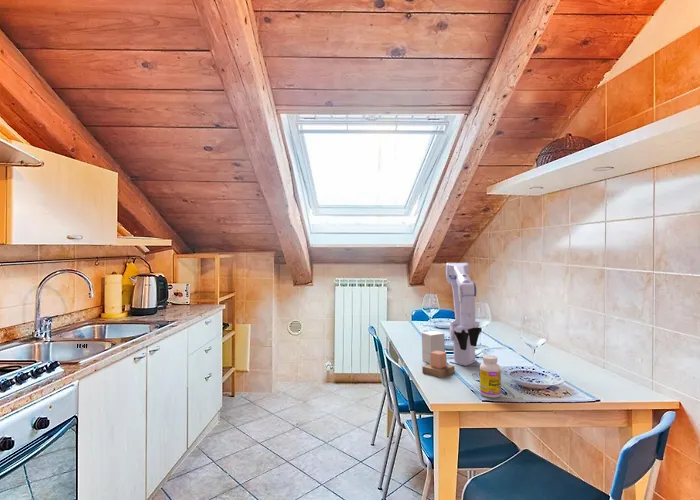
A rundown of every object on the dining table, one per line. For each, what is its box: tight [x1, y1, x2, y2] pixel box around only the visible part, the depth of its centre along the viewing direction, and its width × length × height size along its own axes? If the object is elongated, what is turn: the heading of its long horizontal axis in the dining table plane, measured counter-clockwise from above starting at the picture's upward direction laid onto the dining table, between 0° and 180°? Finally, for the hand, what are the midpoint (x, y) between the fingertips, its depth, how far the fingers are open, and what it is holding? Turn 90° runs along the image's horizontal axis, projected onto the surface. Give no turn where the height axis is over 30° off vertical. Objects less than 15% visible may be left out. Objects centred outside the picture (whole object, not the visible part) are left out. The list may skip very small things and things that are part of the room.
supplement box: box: [421, 330, 446, 364], centre depth 170 cm, size 7×7×13 cm
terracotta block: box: [430, 350, 448, 368], centre depth 155 cm, size 4×4×6 cm
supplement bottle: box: [479, 354, 502, 399], centre depth 131 cm, size 7×7×13 cm
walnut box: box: [422, 363, 455, 378], centre depth 155 cm, size 9×9×3 cm
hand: (468, 347), depth 152 cm, fingers open, 7 cm apart
